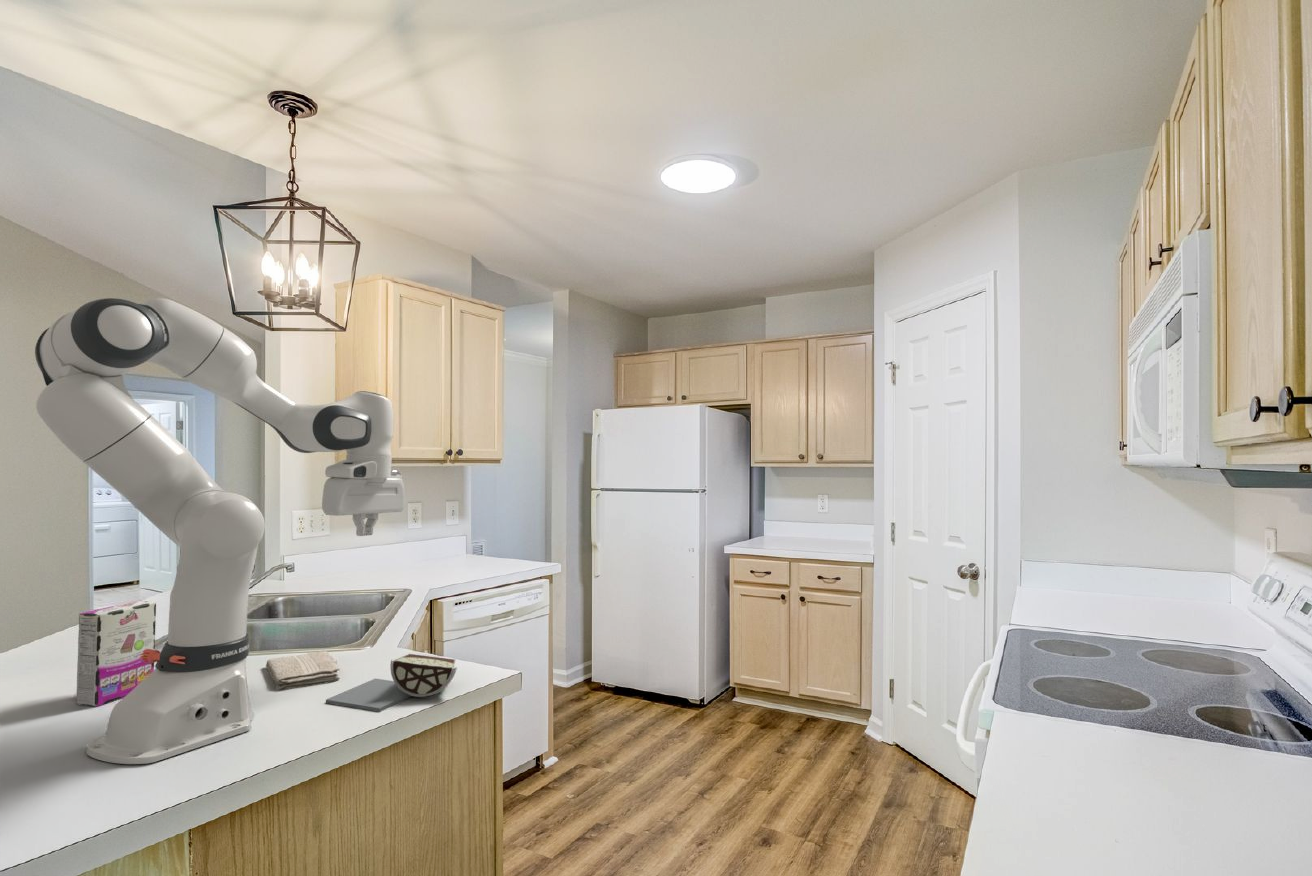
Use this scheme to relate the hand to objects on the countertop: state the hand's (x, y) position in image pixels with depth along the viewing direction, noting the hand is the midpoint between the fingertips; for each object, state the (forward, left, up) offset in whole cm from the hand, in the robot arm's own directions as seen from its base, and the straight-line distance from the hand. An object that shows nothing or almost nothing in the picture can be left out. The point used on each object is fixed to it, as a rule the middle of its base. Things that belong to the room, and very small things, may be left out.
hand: (364, 535), depth 141 cm
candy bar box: (-26, +32, -29) cm, 51 cm away
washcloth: (-4, +11, -30) cm, 32 cm away
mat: (-9, -12, -29) cm, 33 cm away
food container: (+1, -16, -27) cm, 31 cm away
